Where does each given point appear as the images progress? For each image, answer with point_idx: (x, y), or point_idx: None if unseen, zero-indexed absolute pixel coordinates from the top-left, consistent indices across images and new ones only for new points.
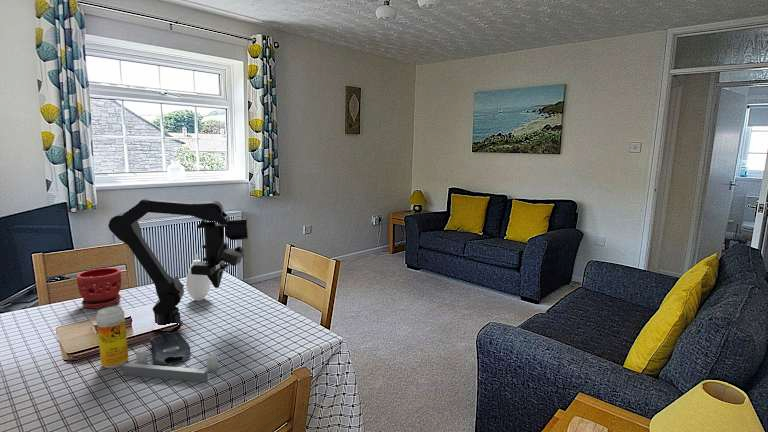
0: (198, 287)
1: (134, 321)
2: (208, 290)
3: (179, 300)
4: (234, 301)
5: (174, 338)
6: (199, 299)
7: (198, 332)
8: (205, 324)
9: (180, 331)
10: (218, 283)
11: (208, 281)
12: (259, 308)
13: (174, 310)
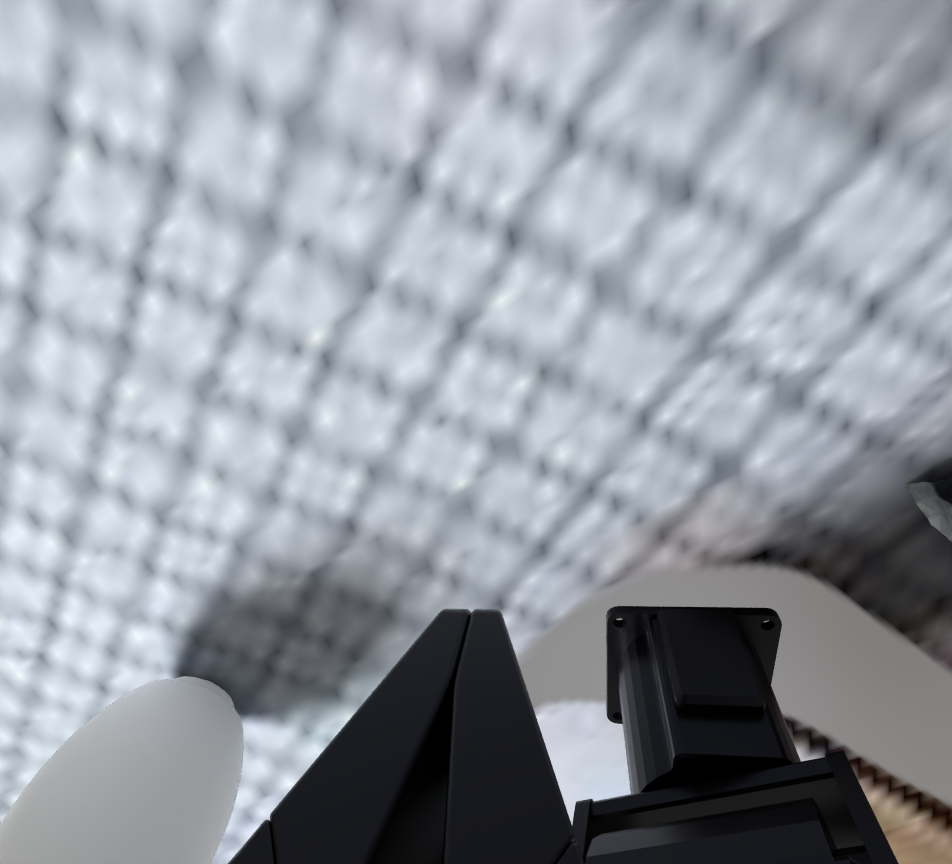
0: (183, 796)
1: None
2: (122, 709)
3: (828, 843)
4: (84, 461)
5: None
6: (219, 693)
7: (762, 412)
8: (586, 443)
9: (942, 523)
10: (486, 686)
11: (56, 790)
12: (63, 116)
13: (753, 753)
